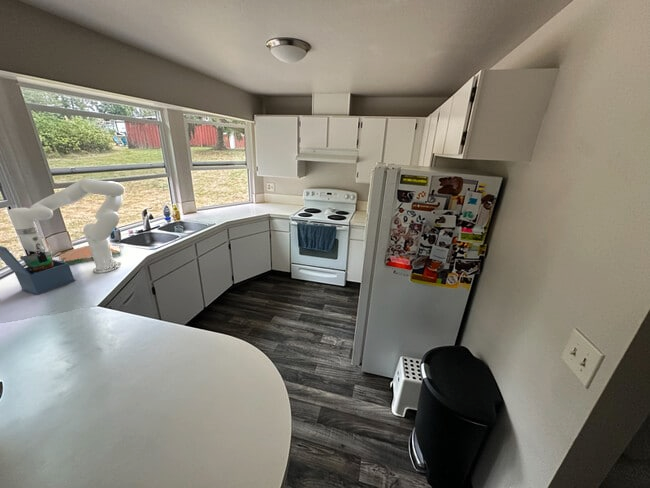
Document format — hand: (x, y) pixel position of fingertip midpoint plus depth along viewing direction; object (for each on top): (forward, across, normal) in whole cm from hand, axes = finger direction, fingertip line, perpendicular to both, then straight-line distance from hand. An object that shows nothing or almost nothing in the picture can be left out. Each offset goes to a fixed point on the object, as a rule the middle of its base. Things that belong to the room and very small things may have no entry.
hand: (39, 260), depth 140 cm
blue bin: (+16, 0, 0) cm, 16 cm away
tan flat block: (+16, +25, -37) cm, 47 cm away
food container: (+6, 0, 0) cm, 6 cm away
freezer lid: (-5, 0, +10) cm, 11 cm away
